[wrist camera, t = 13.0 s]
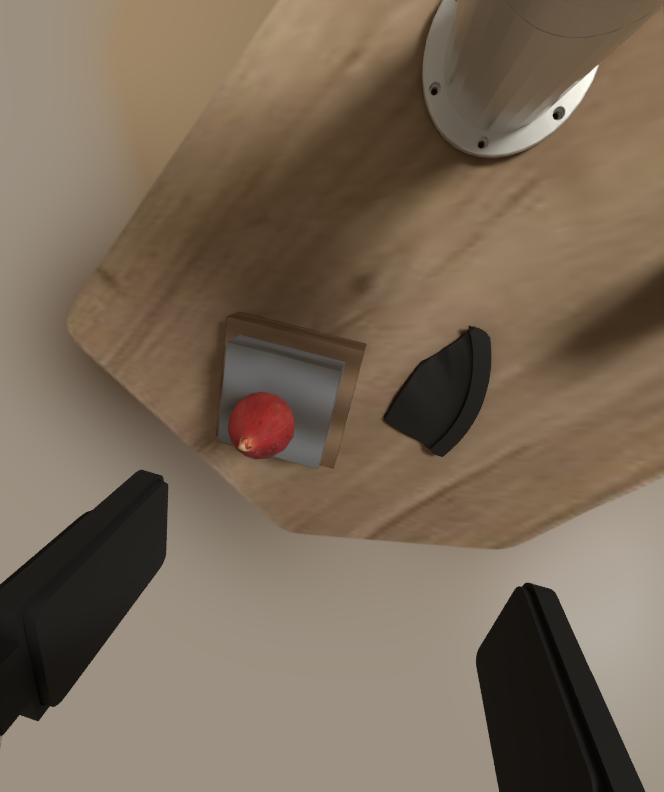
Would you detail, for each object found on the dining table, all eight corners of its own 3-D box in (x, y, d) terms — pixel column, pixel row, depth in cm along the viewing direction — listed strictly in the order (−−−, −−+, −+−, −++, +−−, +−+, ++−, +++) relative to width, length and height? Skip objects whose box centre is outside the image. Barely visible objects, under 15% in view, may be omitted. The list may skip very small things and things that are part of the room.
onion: (315, 418, 36) (293, 463, 28) (270, 443, 38) (239, 491, 30) (280, 369, 34) (248, 403, 27) (235, 398, 36) (194, 436, 29)
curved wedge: (525, 355, 36) (530, 359, 35) (442, 452, 42) (444, 459, 41) (454, 311, 36) (457, 314, 34) (380, 415, 42) (379, 421, 40)
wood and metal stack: (239, 311, 39) (213, 322, 34) (366, 343, 38) (360, 360, 33) (227, 424, 45) (203, 449, 39) (337, 454, 44) (328, 484, 38)
